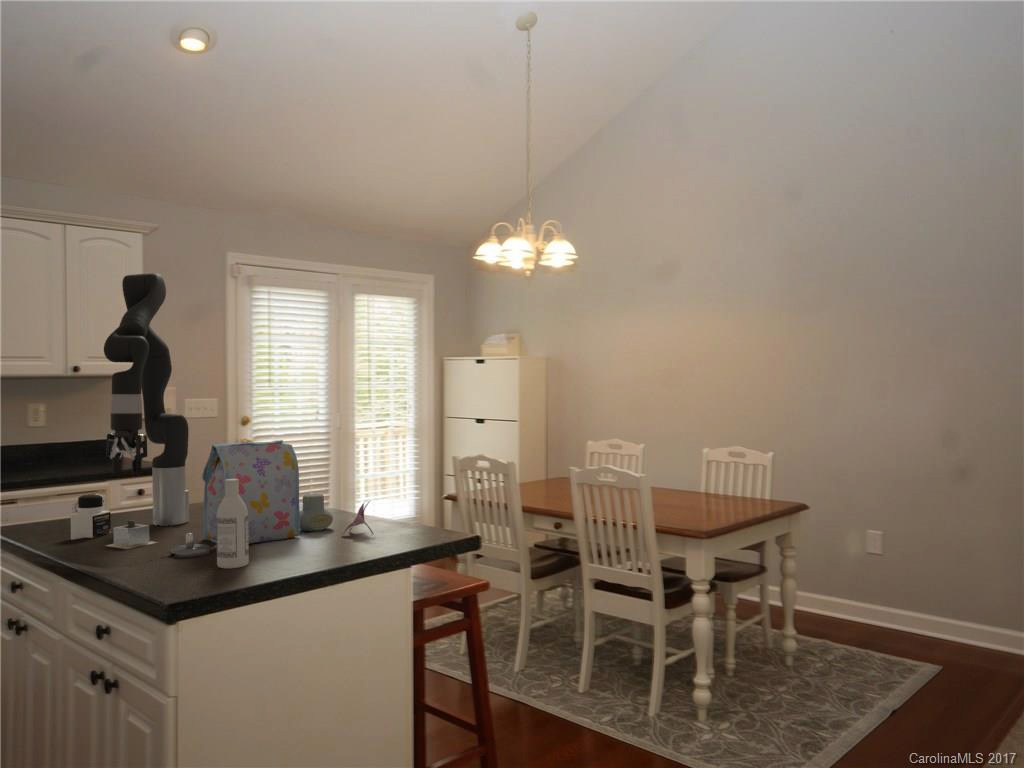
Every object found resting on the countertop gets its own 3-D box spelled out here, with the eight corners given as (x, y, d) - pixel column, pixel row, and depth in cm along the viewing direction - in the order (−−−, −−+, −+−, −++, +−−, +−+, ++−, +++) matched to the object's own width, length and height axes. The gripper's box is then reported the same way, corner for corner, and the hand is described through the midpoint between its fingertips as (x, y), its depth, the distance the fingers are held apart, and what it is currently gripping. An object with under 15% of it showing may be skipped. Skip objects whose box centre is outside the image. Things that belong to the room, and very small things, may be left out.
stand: (136, 543, 214) (136, 516, 214) (158, 546, 209) (157, 519, 209) (104, 549, 206) (104, 522, 206) (126, 552, 202) (126, 524, 202)
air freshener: (302, 534, 223) (302, 498, 223) (289, 530, 230) (288, 495, 230) (337, 529, 231) (337, 494, 230) (323, 525, 237) (323, 491, 237)
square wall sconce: (134, 540, 212) (134, 523, 212) (149, 542, 209) (149, 525, 209) (113, 544, 207) (113, 527, 207) (128, 547, 204) (128, 529, 204)
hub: (193, 548, 206) (192, 529, 206) (217, 552, 201) (216, 532, 201) (162, 555, 198) (162, 535, 198) (186, 559, 193) (186, 538, 193)
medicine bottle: (93, 541, 217) (92, 496, 217) (70, 540, 219) (69, 496, 218) (111, 536, 224) (110, 493, 224) (89, 535, 226) (88, 492, 225)
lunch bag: (275, 530, 231) (274, 437, 231) (305, 537, 219) (304, 440, 219) (198, 541, 215) (196, 442, 215) (226, 550, 203) (224, 445, 203)
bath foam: (238, 561, 191) (237, 477, 191) (254, 565, 187) (253, 479, 186) (211, 566, 186) (210, 480, 186) (227, 570, 181) (226, 482, 181)
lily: (366, 532, 231) (349, 504, 230) (395, 519, 225) (377, 490, 225) (342, 553, 221) (324, 523, 220) (372, 540, 215) (353, 510, 214)
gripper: (156, 411, 210) (156, 473, 209) (123, 411, 217) (123, 471, 217) (129, 412, 203) (129, 476, 203) (96, 412, 211) (96, 473, 210)
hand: (126, 473), depth 210 cm, fingers open, 8 cm apart
